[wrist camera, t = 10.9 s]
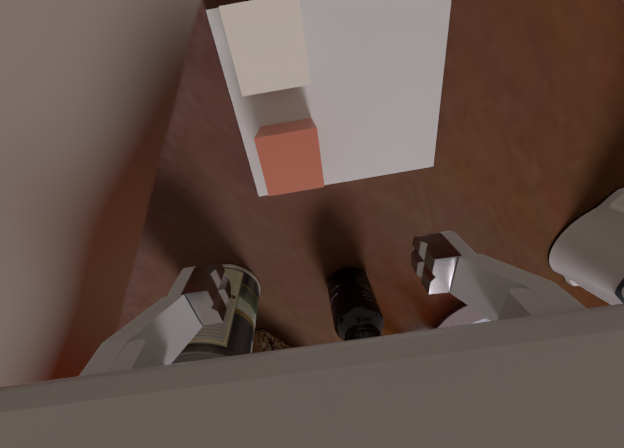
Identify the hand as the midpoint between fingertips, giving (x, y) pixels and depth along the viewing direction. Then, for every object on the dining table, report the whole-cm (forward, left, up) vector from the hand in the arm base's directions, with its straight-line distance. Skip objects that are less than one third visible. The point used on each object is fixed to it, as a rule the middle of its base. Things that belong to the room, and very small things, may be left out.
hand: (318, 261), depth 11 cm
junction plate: (-5, -4, -22) cm, 22 cm away
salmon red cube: (+1, 0, -21) cm, 20 cm away
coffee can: (+15, +20, -22) cm, 33 cm away
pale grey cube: (+1, -9, -21) cm, 22 cm away
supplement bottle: (-4, +23, -22) cm, 32 cm away
